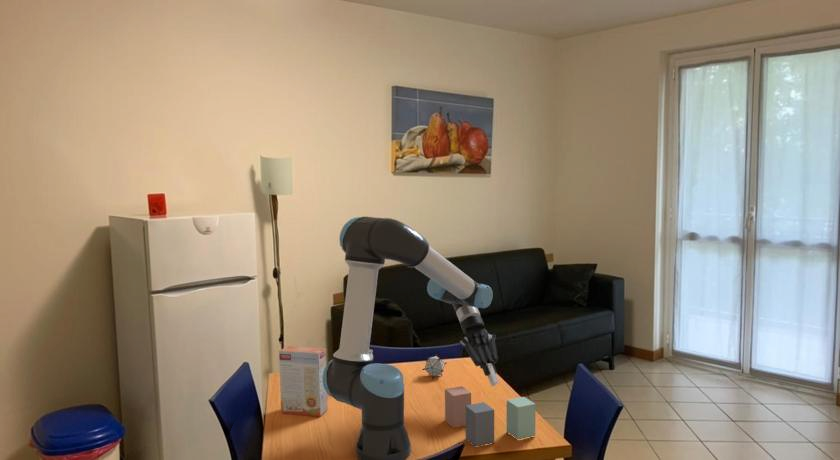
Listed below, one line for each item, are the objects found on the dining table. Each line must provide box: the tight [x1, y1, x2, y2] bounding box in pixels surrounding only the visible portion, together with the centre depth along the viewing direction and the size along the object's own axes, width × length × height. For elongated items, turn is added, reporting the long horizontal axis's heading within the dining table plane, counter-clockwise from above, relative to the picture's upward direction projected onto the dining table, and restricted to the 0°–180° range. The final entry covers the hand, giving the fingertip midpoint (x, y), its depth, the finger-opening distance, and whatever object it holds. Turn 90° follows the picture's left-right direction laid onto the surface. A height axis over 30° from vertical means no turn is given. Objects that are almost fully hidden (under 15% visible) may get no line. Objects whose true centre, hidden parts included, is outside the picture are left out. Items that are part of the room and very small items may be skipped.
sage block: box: [506, 396, 536, 439], centre depth 168 cm, size 6×6×10 cm
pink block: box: [444, 385, 472, 429], centre depth 177 cm, size 6×6×10 cm
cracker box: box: [278, 345, 328, 417], centre depth 185 cm, size 14×6×21 cm, turn 74°
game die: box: [422, 353, 448, 380], centre depth 218 cm, size 9×8×10 cm
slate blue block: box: [465, 401, 495, 448], centre depth 164 cm, size 6×6×10 cm
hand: (494, 383), depth 181 cm, fingers closed
